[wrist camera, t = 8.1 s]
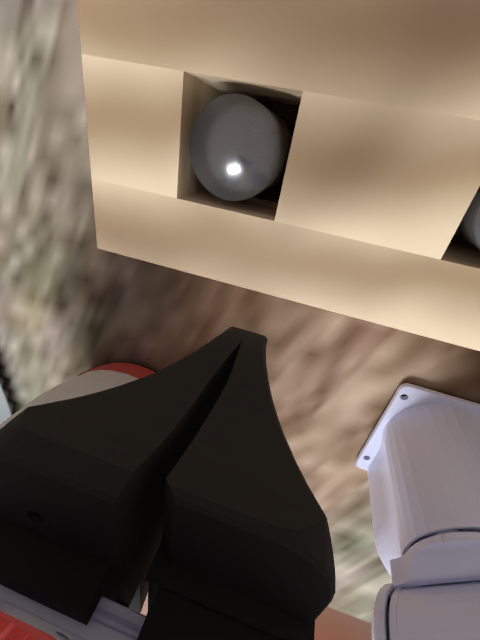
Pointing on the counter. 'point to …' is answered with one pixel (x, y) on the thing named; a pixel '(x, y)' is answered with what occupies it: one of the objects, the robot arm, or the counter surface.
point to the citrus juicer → (4, 630)
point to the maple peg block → (298, 149)
